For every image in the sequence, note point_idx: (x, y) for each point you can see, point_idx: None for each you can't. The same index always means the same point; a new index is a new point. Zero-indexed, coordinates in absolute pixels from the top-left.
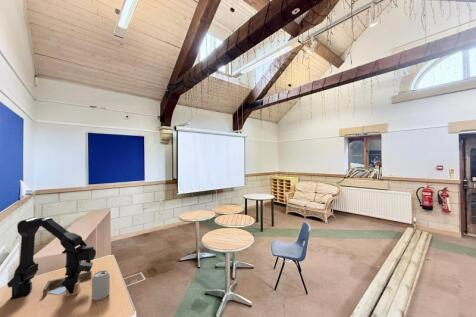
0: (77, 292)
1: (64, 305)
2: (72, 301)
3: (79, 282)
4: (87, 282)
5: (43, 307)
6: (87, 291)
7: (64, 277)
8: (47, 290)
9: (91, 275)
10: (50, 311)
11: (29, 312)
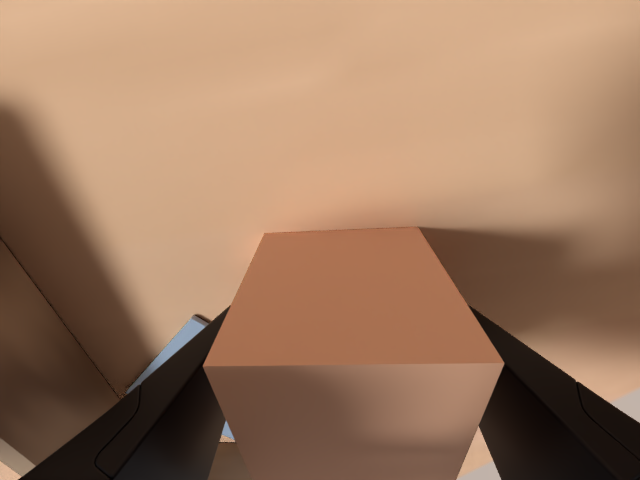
0: (418, 239)
1: (634, 315)
2: (628, 254)
3: (251, 298)
4: (106, 142)
5: (478, 430)
6: (491, 73)
7: (24, 470)
8: (233, 474)
9: None
10: (618, 389)
11: (475, 469)
